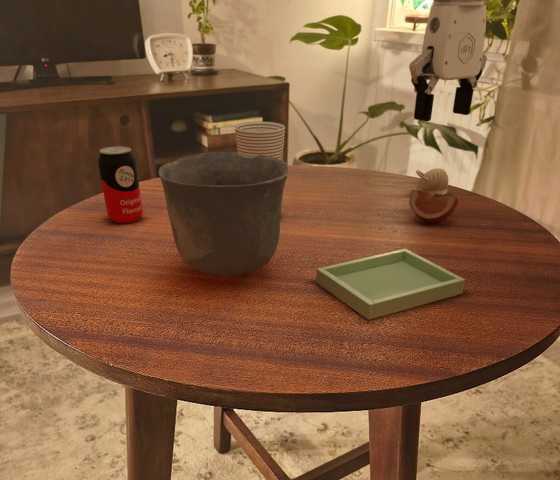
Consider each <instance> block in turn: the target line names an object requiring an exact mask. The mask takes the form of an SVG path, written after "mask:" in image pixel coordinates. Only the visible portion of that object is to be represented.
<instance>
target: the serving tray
mask: <svg viewBox="0 0 560 480" xmlns="http://www.w3.org/2000/svg"><path fill="white" fill-rule="evenodd" d="M465 282H466V279H465V278H464V277H461V276H459V275H458V274H455V273H454V272H451V271H450V270H447V269H446V268H444V267H442V266H439V265H438V264H436V263H434V262H432V261H430V260H428V259H426V258H424V257H422V256H421V255H418V254H416V253H415V252H413V251H411V250H409V249H407V248H402V249H398V250H393V251H389V252H385V253H380V254H376V255H372V256H366V257H362V258H358V259H353V260H349V261H345V262H341V263H336V264H332V265H327V266H323V267H318V268H316V277H315V283H316V284H317V285H319V286H320V287H322V288H323V289H325V290H326V291H327V292H329V293H330V294H332V295H333V296H335V298H337V299H338V300H340V301H341V302H342V303H344V304H346V305H347V306H348V307H350V308H351V309H353V310H354V311H355V312H357V313H358V314H360V315H361V316H362V317H364V318H365V319H366V320H368V321H369V320H373V319H377V318H380V317H383V316H384V317H385V316H387V315H391V314H394V313H398V312H402V311H405V310H409V309H413V308H416V307H420V306H423V305H427V304H430V303H434V302H437V301H442V300H445V299H449V298H451V297H452V298H453V297H456V296H459V295H463V294H464V287H465Z"/></svg>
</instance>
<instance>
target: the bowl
mask: <svg viewBox="0 0 560 480" xmlns="http://www.w3.org/2000/svg"><path fill="white" fill-rule="evenodd" d="M288 169H289V164H288V163H287V162H286V161H284V160H280V159H278V158H275V157H270V156H267V155H261V154H259V155H256V156H246V155H241V154H240V153H238V151H235V152H233V151H231V152H229V151H218V152H217V151H216V152H204V153H198V154H195V155H190V156H185V157H181V158H178V159H176V160H175V161H173V162H167V163H164V164H163V165H161V166H160V167H159V169H158V175H159V178H160V181H161V184H162V189H163V193H164V198H165V204H166V211H167V215H168V220H169V223H170V228H171V231H172V232H171V233H172V236H173V240H174V244H175V247H176V250H177V251H178V255H179V256H180V258H181V260H182V262H183V263H185V264H186V265H187V266H188V267H190V268H191V269H193V270H195V271H197V272H199V273H201V274H204V275H205V276H209V277H213V278H219V279H228V278H237V277H242V276H245V275H249V274H251V273H255V272H256V271H258V270H260V269H262V268H263V267H264V266H266V265H267V264H268V263H269V262H270V261H271V259H272V258H273V257H274V254H275V253H276V251H277V247H278V245H279V241H280V233H281V222H282V221H281V220H282V203H283V196H284V190H285V185H286V183H287V182H286V181H287V178H288V176H289V173H290V171H289V170H288Z"/></svg>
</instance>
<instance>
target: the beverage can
mask: <svg viewBox="0 0 560 480" xmlns="http://www.w3.org/2000/svg"><path fill="white" fill-rule="evenodd" d="M131 150H132V149H131V148H130V147H128V146H122V145H117V146H114V145H113V146H107V147H103V148H101V149H99V157H98V160H97V164H98V169H99V176H100V181H101V188H102V193H103V197H104V198H103V200H104V204H105V210H106V215H107V217H108V218H109V219H110V220H112V221H113V222H114V223H117V224H131V223H135V222H137V221H139V220H140V218H141V217H142V216H143V214H144V209H143V202H142V194H141V193H142V192H141V187H140V186H141V185H140V180H139V174H138V166H137V160H136V157H135V156H134V154H133V153H132V151H131Z"/></svg>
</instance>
